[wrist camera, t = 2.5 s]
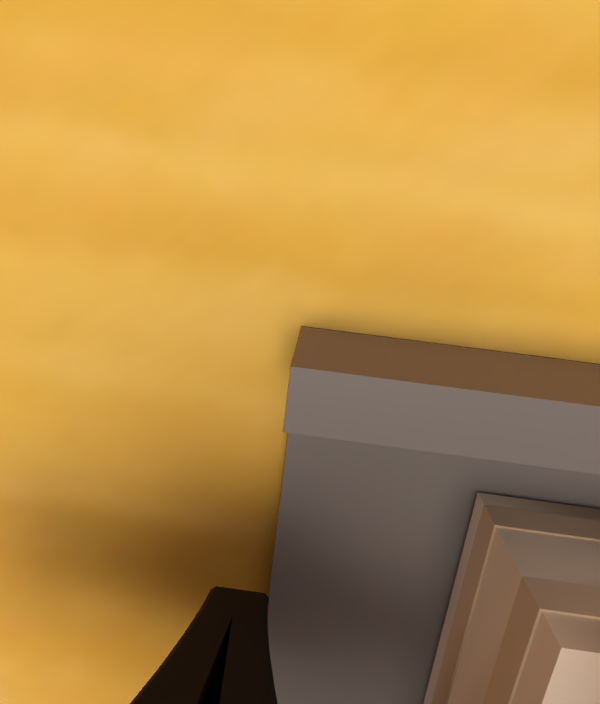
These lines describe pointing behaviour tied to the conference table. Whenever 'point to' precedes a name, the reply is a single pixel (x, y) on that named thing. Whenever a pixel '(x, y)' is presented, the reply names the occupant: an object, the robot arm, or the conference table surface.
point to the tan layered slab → (523, 608)
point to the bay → (405, 497)
